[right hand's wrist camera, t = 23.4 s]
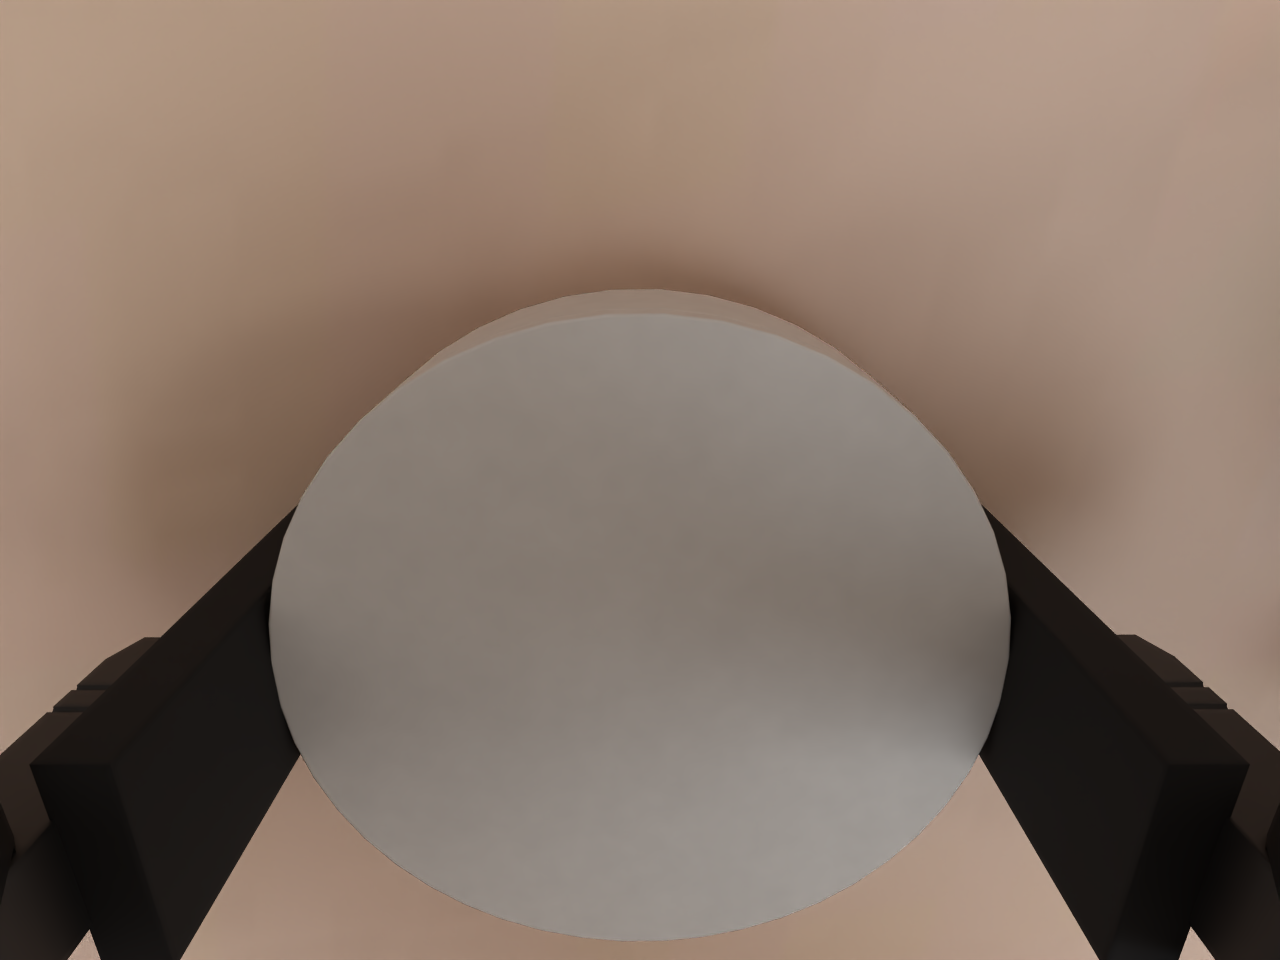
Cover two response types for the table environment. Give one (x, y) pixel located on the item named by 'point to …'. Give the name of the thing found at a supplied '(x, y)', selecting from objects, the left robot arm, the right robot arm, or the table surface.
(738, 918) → the lid
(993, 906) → the table surface
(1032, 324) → the table surface
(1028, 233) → the table surface
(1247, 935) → the right robot arm
